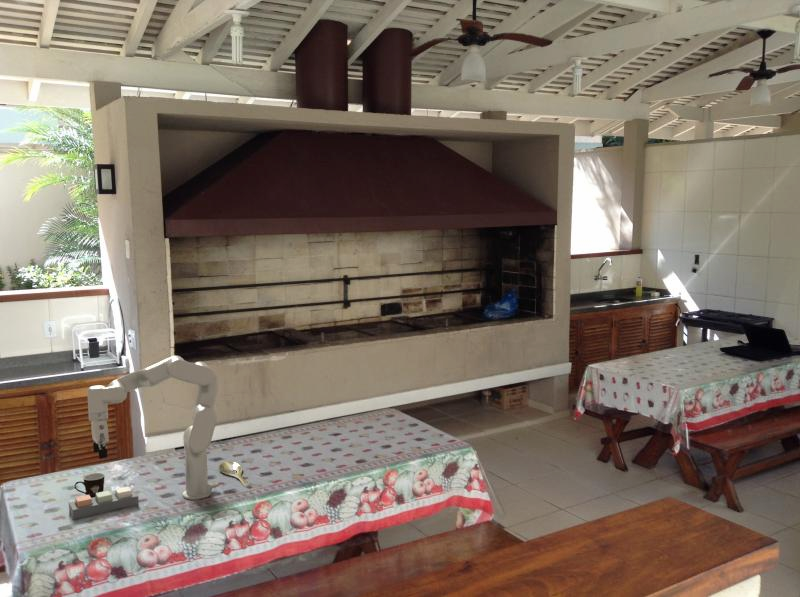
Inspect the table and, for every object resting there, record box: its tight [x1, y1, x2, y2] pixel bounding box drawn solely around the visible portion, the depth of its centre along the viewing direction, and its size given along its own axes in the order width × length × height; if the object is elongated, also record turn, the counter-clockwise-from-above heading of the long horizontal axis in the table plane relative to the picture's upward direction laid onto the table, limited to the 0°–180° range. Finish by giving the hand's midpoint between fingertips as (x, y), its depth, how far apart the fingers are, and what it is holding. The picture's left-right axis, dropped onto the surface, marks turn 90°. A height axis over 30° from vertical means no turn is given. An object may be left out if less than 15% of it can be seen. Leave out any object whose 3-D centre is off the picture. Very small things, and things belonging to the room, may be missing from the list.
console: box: [68, 488, 140, 521], centre depth 304 cm, size 26×9×4 cm, turn 124°
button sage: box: [96, 490, 112, 503], centre depth 303 cm, size 5×5×4 cm
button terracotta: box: [74, 494, 92, 508], centre depth 299 cm, size 5×5×4 cm
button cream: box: [114, 486, 132, 499], centre depth 308 cm, size 5×5×4 cm
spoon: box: [218, 460, 249, 486], centre depth 342 cm, size 35×11×2 cm, turn 32°
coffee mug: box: [74, 472, 105, 498], centre depth 315 cm, size 12×9×10 cm
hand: (100, 454), depth 300 cm, fingers open, 9 cm apart
